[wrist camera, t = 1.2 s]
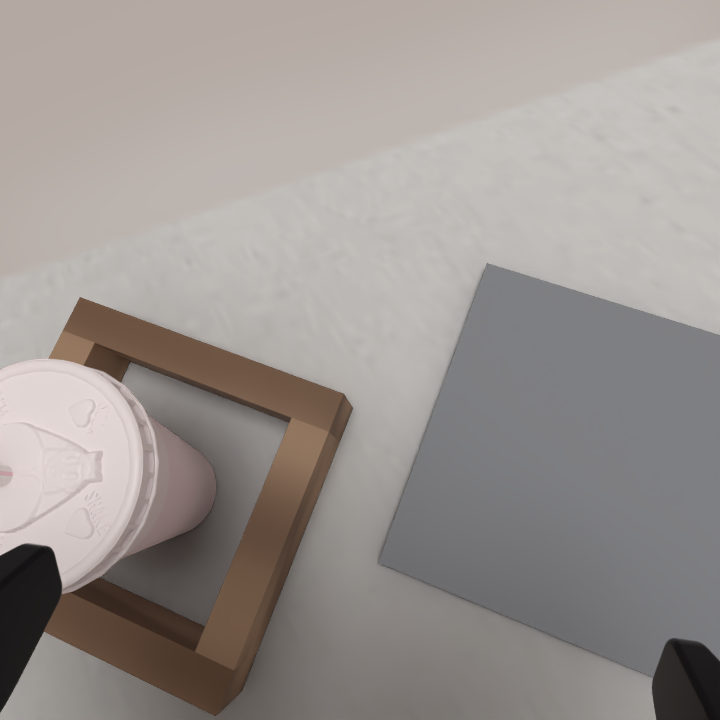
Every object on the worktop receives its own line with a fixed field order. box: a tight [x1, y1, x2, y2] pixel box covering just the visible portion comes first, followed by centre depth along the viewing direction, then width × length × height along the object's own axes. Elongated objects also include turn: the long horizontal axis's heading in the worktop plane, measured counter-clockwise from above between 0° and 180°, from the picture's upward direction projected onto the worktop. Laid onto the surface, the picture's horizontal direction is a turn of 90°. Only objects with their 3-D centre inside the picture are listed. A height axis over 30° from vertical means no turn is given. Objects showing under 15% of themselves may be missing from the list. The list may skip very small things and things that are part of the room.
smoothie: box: [0, 359, 216, 594], centre depth 18 cm, size 6×6×14 cm
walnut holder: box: [44, 297, 353, 716], centre depth 24 cm, size 12×12×3 cm
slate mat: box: [378, 263, 720, 677], centre depth 23 cm, size 13×13×1 cm
